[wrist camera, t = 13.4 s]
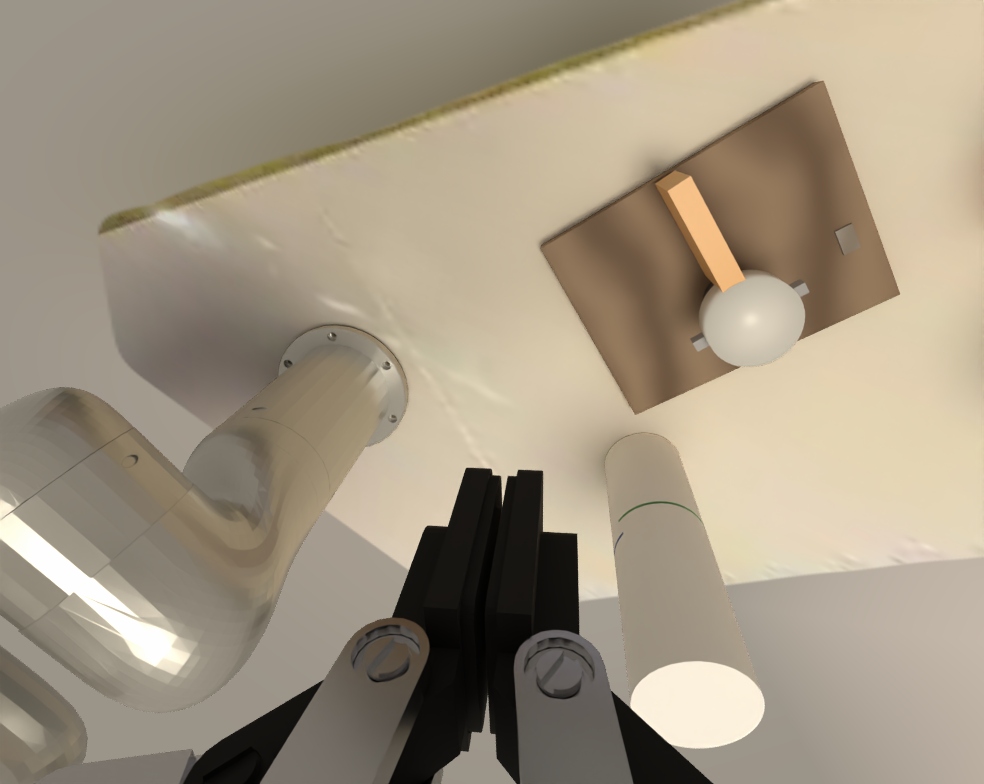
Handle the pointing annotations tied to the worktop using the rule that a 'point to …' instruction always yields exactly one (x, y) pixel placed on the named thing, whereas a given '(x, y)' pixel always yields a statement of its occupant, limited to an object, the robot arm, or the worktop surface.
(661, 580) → the cylindrical container
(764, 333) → the cap
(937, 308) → the worktop surface
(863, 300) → the post base
